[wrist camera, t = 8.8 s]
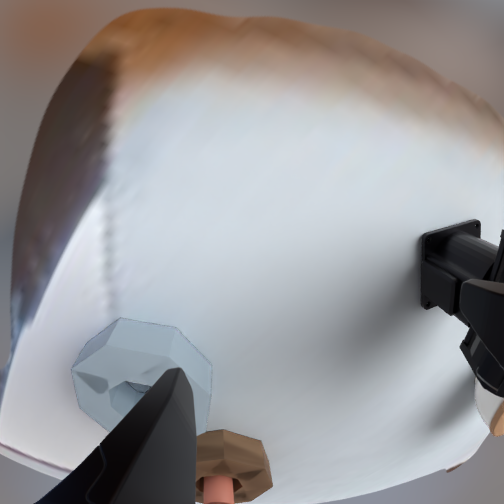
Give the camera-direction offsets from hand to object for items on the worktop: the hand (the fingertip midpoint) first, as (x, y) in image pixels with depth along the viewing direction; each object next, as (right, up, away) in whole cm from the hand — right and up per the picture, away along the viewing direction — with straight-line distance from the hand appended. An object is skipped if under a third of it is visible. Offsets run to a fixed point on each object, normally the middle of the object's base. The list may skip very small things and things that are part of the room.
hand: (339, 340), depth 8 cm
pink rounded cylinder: (-6, -19, +18) cm, 27 cm away
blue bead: (-11, -7, +14) cm, 19 cm away
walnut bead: (-6, -19, +18) cm, 27 cm away
